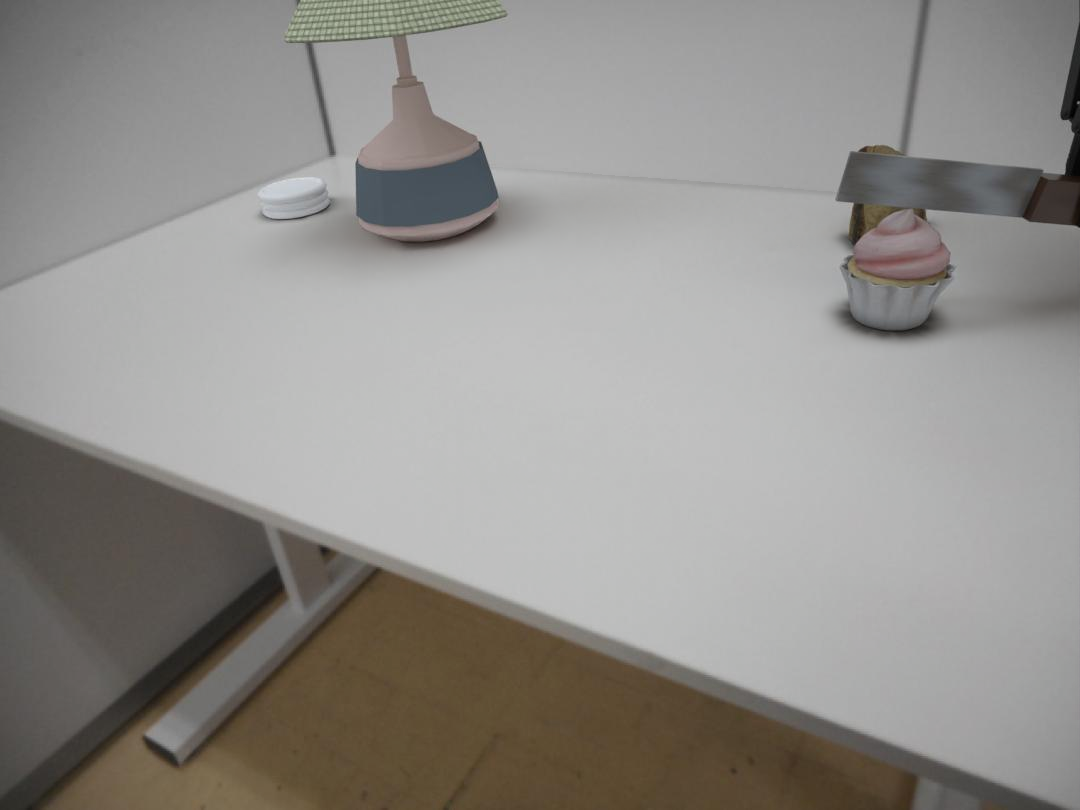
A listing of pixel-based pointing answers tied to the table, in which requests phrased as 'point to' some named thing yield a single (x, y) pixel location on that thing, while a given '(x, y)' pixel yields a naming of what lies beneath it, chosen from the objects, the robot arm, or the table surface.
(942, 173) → the knife
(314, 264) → the table surface
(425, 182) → the desk lamp
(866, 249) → the cupcake
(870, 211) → the rock
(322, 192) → the white layered round disc
